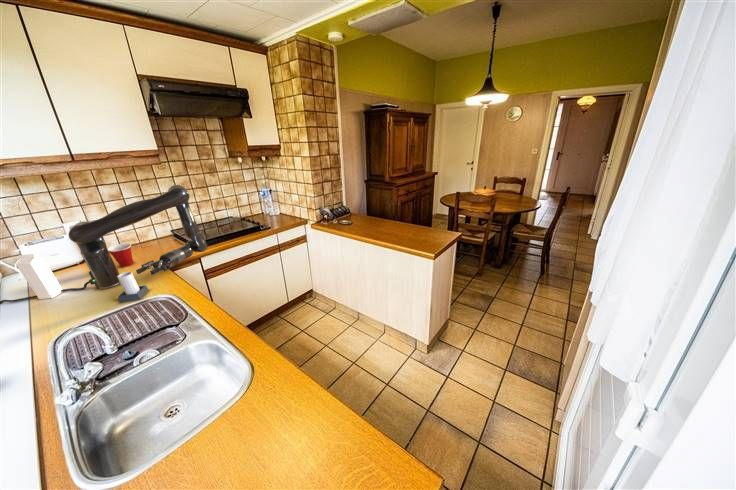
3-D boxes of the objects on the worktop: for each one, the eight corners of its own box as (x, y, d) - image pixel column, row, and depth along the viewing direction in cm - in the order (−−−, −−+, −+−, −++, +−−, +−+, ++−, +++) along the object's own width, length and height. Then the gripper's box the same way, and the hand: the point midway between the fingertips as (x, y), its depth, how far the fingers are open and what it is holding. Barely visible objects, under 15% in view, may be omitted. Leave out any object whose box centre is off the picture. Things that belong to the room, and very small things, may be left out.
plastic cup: (125, 269, 152) (116, 250, 147) (110, 268, 154) (101, 249, 149) (143, 261, 161) (135, 243, 157) (129, 260, 164) (121, 242, 159)
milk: (52, 298, 127) (26, 257, 118) (38, 299, 127) (11, 258, 118) (64, 291, 133) (40, 251, 124) (51, 292, 132) (26, 252, 123)
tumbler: (124, 299, 121) (114, 278, 117) (131, 293, 126) (121, 272, 121) (137, 296, 122) (127, 276, 118) (143, 291, 127) (134, 270, 122)
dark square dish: (120, 302, 120) (117, 297, 119) (129, 293, 127) (127, 288, 126) (140, 299, 122) (137, 293, 120) (148, 290, 129) (146, 285, 127)
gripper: (159, 251, 142) (129, 265, 128) (181, 252, 139) (152, 266, 125) (164, 263, 145) (135, 278, 131) (186, 264, 142) (158, 280, 128)
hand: (144, 272), depth 128 cm, fingers open, 8 cm apart
